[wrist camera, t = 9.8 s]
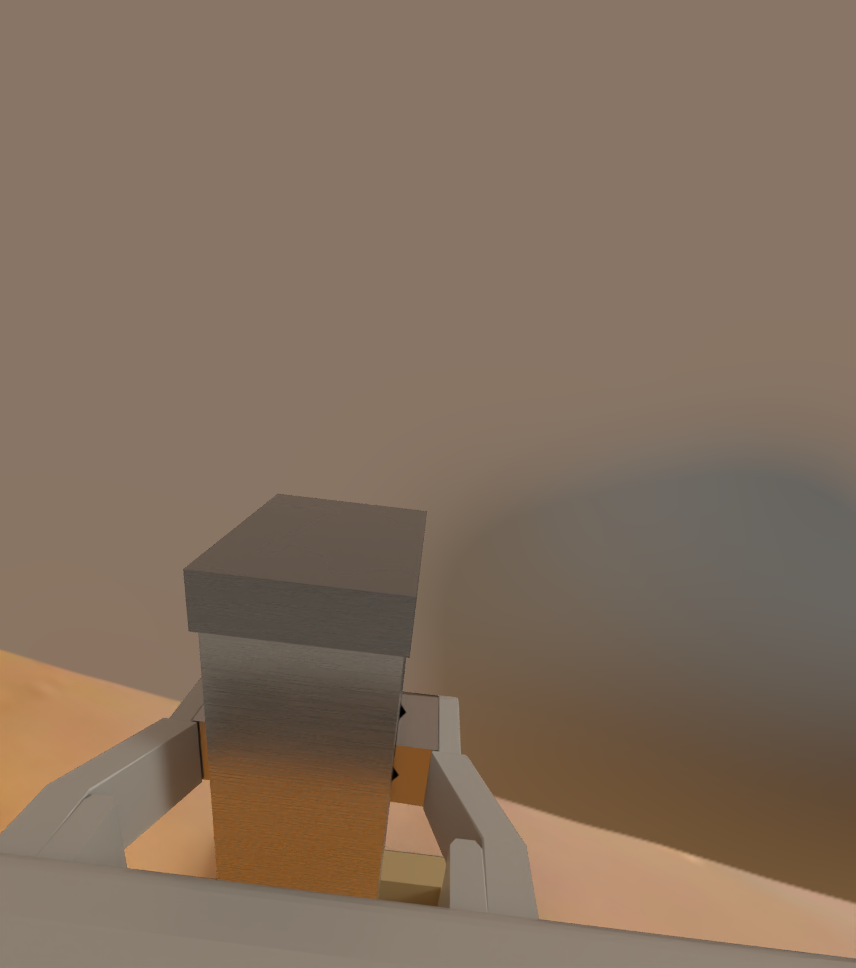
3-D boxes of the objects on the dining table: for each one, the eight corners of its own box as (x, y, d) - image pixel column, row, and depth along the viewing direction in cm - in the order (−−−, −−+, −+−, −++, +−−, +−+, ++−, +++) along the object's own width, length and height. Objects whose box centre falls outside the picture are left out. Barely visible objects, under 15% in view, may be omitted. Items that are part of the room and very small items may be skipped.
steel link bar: (219, 988, 10) (184, 569, 6) (279, 822, 14) (277, 493, 10) (368, 1007, 10) (416, 596, 6) (389, 835, 14) (427, 511, 10)
